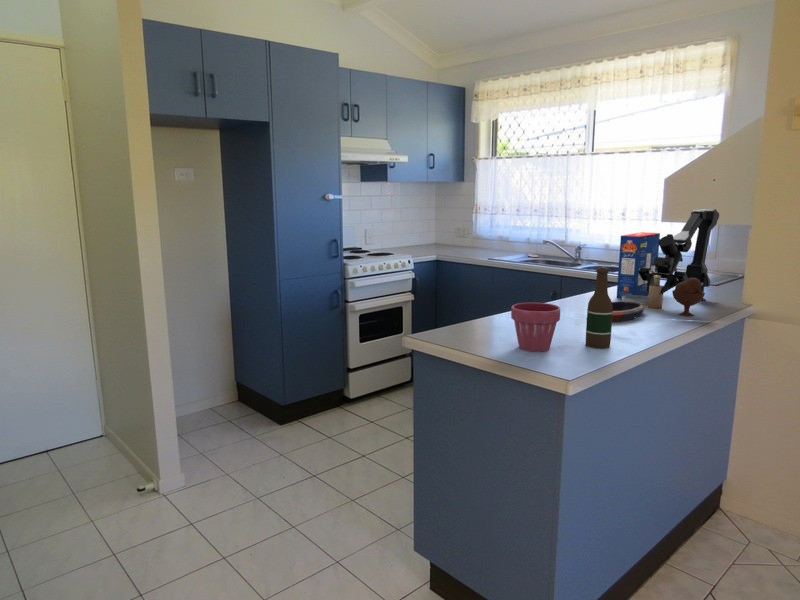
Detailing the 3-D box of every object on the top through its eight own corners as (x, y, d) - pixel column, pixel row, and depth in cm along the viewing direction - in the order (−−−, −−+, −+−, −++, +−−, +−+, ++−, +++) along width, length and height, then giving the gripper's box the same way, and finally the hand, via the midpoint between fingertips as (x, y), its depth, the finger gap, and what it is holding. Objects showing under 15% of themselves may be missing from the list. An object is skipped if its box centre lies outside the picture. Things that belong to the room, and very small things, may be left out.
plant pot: (505, 351, 172) (506, 308, 169) (515, 340, 184) (517, 300, 182) (554, 356, 166) (556, 312, 164) (561, 344, 179) (563, 304, 176)
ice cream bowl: (694, 313, 225) (698, 275, 222) (706, 319, 214) (711, 279, 211) (666, 313, 226) (669, 275, 223) (677, 319, 215) (680, 279, 212)
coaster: (643, 307, 237) (643, 305, 237) (662, 307, 236) (662, 306, 236) (646, 310, 231) (647, 309, 231) (665, 311, 229) (665, 310, 229)
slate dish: (620, 300, 251) (620, 294, 251) (650, 302, 248) (650, 295, 248) (624, 306, 240) (624, 299, 239) (655, 307, 237) (655, 300, 236)
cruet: (646, 306, 236) (649, 274, 234) (660, 306, 235) (663, 274, 233) (648, 308, 231) (651, 276, 229) (663, 309, 230) (666, 276, 228)
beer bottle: (580, 342, 181) (584, 266, 177) (604, 342, 182) (609, 266, 177) (590, 349, 173) (595, 270, 169) (615, 348, 174) (621, 269, 170)
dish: (656, 315, 223) (657, 302, 222) (612, 327, 204) (613, 313, 203) (619, 309, 234) (620, 297, 234) (574, 319, 215) (575, 306, 215)
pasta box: (637, 290, 277) (642, 232, 272) (655, 292, 272) (660, 233, 267) (616, 298, 256) (620, 235, 251) (634, 300, 251) (639, 236, 246)
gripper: (642, 247, 239) (626, 276, 234) (688, 251, 224) (671, 282, 219) (650, 265, 245) (634, 293, 240) (695, 269, 231) (679, 300, 226)
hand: (654, 292), depth 231 cm, fingers closed on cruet, 5 cm apart
